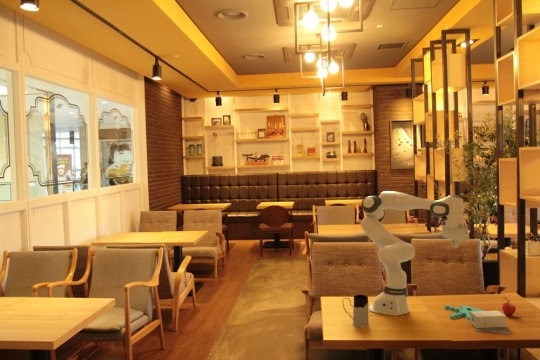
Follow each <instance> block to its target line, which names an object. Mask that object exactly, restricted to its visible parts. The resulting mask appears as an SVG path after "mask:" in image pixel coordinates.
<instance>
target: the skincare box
mask: <svg viewBox="0 0 540 360" xmlns="http://www.w3.org/2000/svg"><path fill="white" fill-rule="evenodd" d="M469 324H471V325H472V326H473V327H474V326H475V327H476V328H496V327H506V326H507V315H505V313H504V312H501V311H499V310H484V311H470V320H469ZM475 327H474V328H475Z"/></svg>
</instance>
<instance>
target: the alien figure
mask: <svg viewBox="0 0 540 360" xmlns="http://www.w3.org/2000/svg"><path fill="white" fill-rule="evenodd" d="M444 310H449V311H453V312H454V313H453V314H449V319H450V320H456V319H459V318H463V317H465V318H466V319H467V321H470V311H485V309H480V308H475V307H473V306H471V307H470V306H469V305H460V308H459V307H454V306H453V305H449V304H444Z"/></svg>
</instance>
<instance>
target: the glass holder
mask: <svg viewBox="0 0 540 360" xmlns="http://www.w3.org/2000/svg"><path fill="white" fill-rule="evenodd" d="M345 299H348V301H349V304H350V307H353V311H352V312H353V313H352V314H353V316H352V315H351V314H350V313H349V312H348V311H347V309H346V308H345V305H344V304H345V303H342V307H343V309H344V312H345V313H347V315H348V316H349V317H350V318H352V321H353V322H352V326H353V327H355V328H367V326H368V327H369V326H370V323H369V296H367V295H365V294H355V295H353V305H352V301H351V299H350V298H349V297H344V298H343V299H342V301H344V300H345Z"/></svg>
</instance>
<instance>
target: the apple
mask: <svg viewBox="0 0 540 360" xmlns="http://www.w3.org/2000/svg"><path fill="white" fill-rule="evenodd" d="M503 299H504V300H506V301H507V302H503V303H502V306H501V307H502V308H501V309H502V311H503V314H504V315H505V316H506V317H507V316H509V317H512V316H513V315H514V314H515V312H516V310H517V308H516V306H515V305H514V304H512V303H510V300H508V298H507V297H503Z"/></svg>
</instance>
